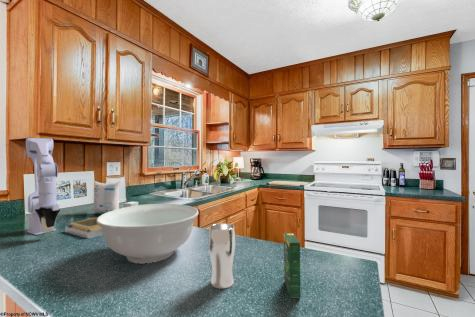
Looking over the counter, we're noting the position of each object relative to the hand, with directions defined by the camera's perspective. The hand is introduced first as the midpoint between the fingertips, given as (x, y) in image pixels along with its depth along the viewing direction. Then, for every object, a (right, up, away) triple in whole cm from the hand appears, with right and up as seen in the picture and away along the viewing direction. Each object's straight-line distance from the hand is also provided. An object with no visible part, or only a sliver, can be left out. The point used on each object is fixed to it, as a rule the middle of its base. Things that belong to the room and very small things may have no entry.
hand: (47, 226), depth 99 cm
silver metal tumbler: (+74, -5, -35) cm, 83 cm away
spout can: (0, -2, 0) cm, 2 cm away
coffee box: (+92, -5, -38) cm, 100 cm away
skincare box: (+27, -6, +17) cm, 32 cm away
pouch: (0, -6, +43) cm, 44 cm away
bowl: (+49, -6, -16) cm, 51 cm away
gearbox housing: (+11, -6, +12) cm, 17 cm away
